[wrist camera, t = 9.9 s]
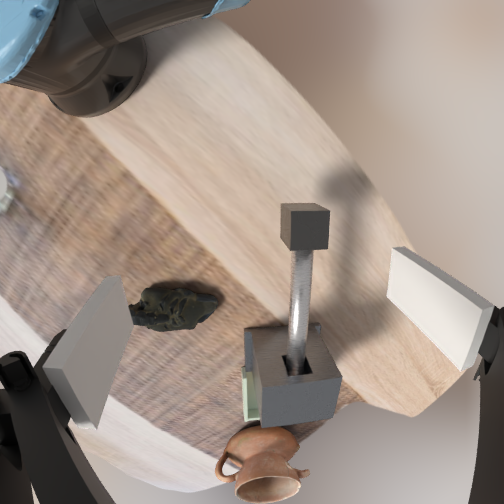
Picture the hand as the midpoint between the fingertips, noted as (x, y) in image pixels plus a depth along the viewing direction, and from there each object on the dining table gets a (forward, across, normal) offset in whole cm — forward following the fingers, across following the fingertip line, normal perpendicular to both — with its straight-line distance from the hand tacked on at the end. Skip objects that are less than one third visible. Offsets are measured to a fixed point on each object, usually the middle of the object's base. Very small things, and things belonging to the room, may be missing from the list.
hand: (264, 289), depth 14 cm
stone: (+27, -10, -14) cm, 32 cm away
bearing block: (+26, +6, -24) cm, 36 cm away
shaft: (+20, +6, -14) cm, 25 cm away
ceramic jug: (+26, 0, -49) cm, 55 cm away
